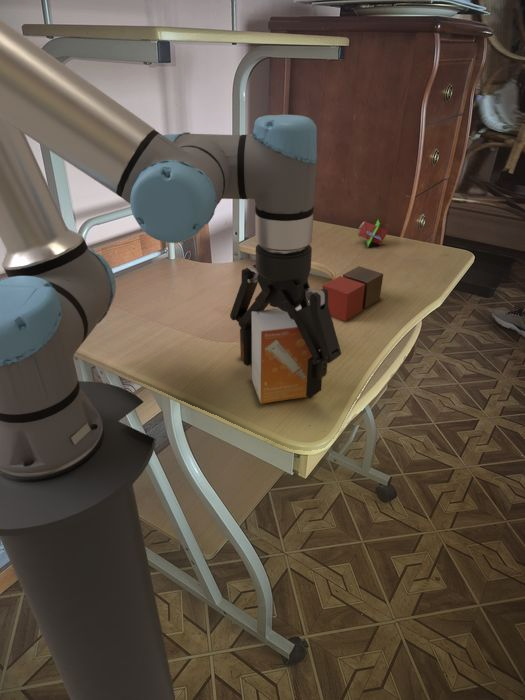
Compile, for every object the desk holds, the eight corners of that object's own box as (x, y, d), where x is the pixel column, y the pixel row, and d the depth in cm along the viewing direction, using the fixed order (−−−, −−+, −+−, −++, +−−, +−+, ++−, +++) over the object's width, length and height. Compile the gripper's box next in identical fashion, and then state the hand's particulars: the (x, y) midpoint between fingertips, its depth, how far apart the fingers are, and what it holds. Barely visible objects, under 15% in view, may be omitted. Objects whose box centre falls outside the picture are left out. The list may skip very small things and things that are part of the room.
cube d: (340, 300, 106) (342, 274, 102) (356, 291, 109) (358, 266, 106) (364, 309, 102) (367, 282, 99) (379, 299, 106) (383, 273, 103)
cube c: (320, 312, 101) (322, 285, 98) (337, 302, 105) (340, 275, 102) (345, 321, 98) (348, 294, 95) (362, 311, 102) (365, 284, 98)
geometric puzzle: (391, 233, 135) (375, 209, 132) (394, 241, 130) (378, 217, 127) (367, 247, 138) (352, 224, 135) (370, 256, 132) (354, 233, 129)
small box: (260, 405, 76) (260, 331, 69) (251, 381, 81) (250, 310, 74) (311, 397, 77) (316, 324, 70) (299, 374, 82) (302, 304, 76)
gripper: (378, 258, 62) (360, 397, 73) (238, 218, 75) (242, 340, 87) (343, 277, 57) (330, 422, 68) (201, 231, 71) (210, 358, 82)
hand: (281, 376), depth 78 cm, fingers open, 12 cm apart
